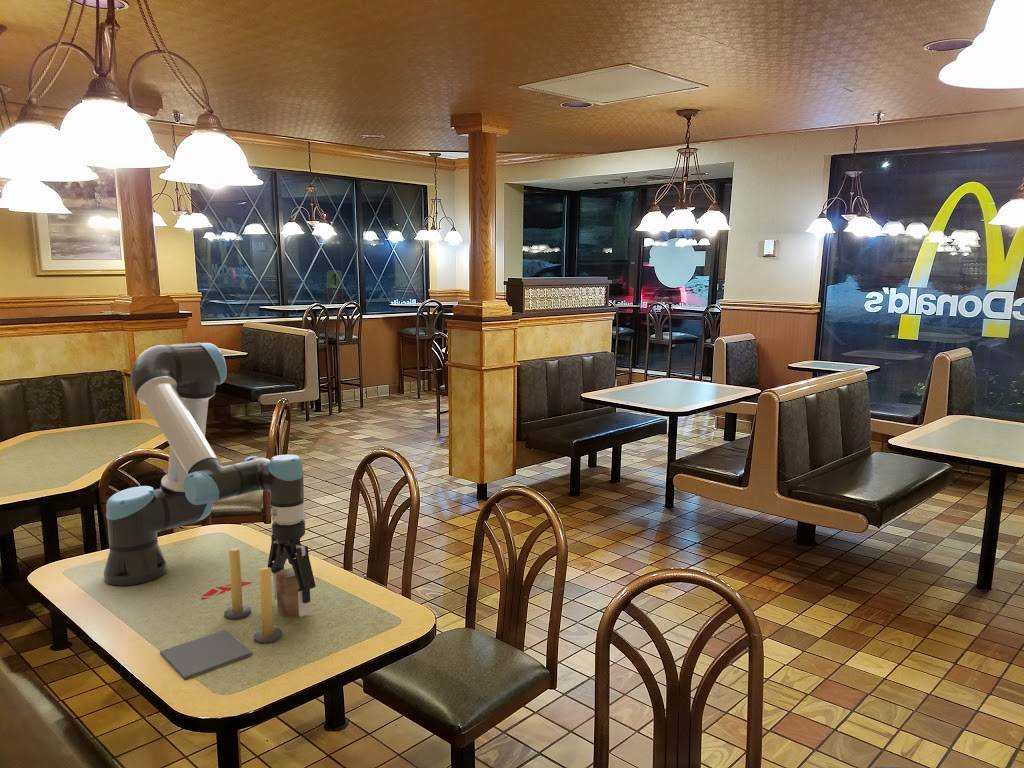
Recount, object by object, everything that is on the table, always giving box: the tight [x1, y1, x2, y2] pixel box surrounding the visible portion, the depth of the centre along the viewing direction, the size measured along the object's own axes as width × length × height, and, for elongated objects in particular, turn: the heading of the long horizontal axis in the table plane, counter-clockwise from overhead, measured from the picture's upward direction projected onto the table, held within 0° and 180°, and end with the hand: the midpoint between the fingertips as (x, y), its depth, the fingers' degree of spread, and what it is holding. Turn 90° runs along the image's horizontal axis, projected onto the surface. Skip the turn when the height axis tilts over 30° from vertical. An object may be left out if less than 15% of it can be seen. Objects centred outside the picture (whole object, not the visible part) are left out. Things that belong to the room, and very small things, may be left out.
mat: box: [159, 629, 253, 681], centre depth 152 cm, size 14×14×1 cm
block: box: [276, 566, 300, 619], centre depth 172 cm, size 5×5×10 cm
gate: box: [223, 547, 283, 645], centre depth 164 cm, size 22×6×16 cm, turn 44°
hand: (292, 606), depth 172 cm, fingers open, 12 cm apart
